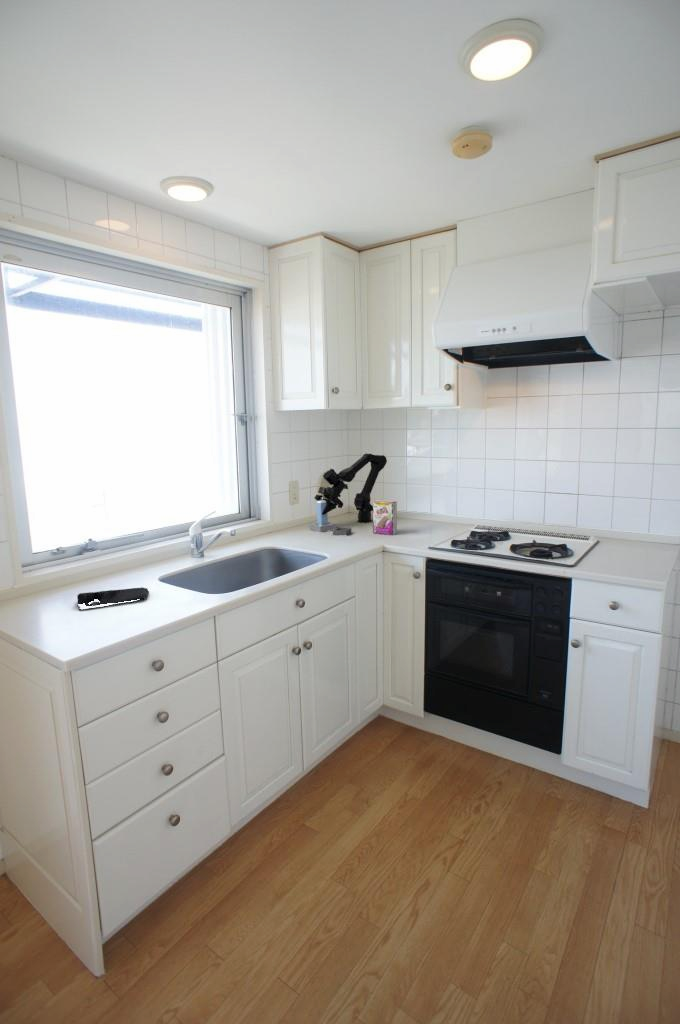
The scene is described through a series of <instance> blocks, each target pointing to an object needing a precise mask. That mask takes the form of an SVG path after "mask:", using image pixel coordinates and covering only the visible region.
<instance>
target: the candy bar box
mask: <svg viewBox="0 0 680 1024" xmlns="http://www.w3.org/2000/svg"><path fill="white" fill-rule="evenodd" d="M397 504H398V503H397V501H396V500H385V499H384V500H383V499H375V500H373V501H372V506H373V511H372V520H373V521H372V528H373V529H372V532H373V534H377V533H380V534H379V535H387V534H390V535H389V536H394V535H396V534H398V516H397V515H398V512H397V509H398V507H397ZM393 534H394V535H393Z"/></svg>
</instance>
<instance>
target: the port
mask: <svg viewBox="0 0 680 1024" xmlns="http://www.w3.org/2000/svg"><path fill="white" fill-rule="evenodd" d="M308 526H309V528H308V529H310V531H313V530H314V531H313V532H317V531H318V532H317V533H324V531H325V532H329V531H328V530H331V531H333V529H336V528H337V524H336V523H335V522H334V523H333V522H330V521H328V524H327V525H317V522H313V523H309V525H308Z"/></svg>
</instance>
